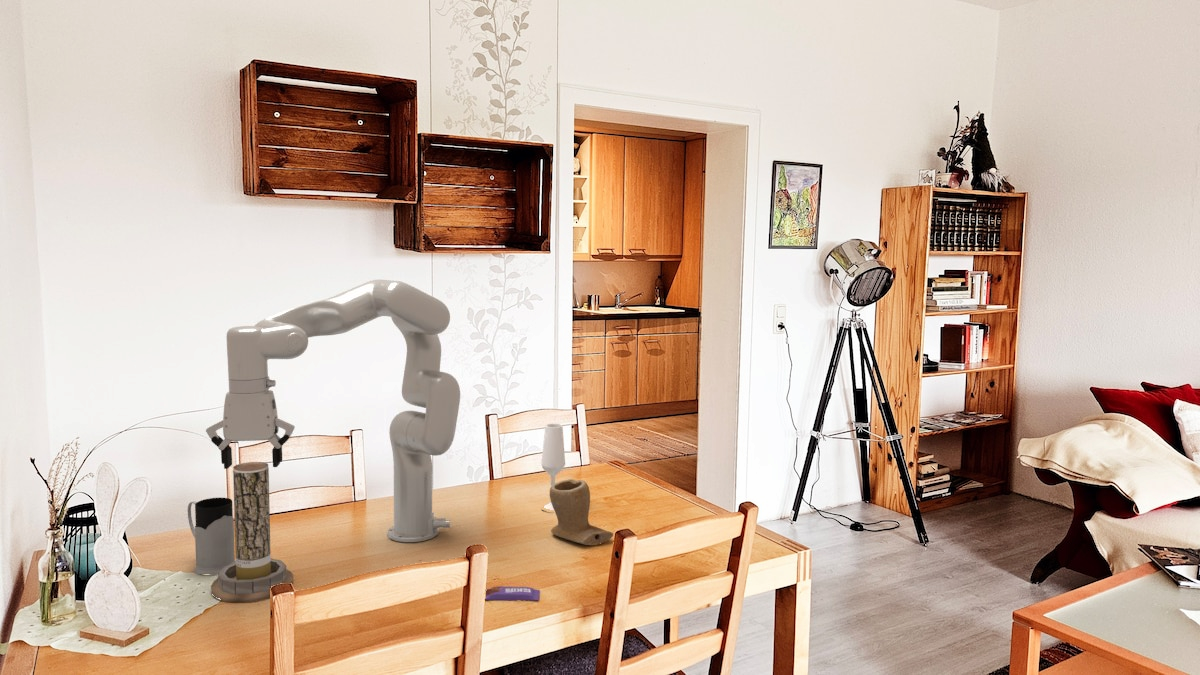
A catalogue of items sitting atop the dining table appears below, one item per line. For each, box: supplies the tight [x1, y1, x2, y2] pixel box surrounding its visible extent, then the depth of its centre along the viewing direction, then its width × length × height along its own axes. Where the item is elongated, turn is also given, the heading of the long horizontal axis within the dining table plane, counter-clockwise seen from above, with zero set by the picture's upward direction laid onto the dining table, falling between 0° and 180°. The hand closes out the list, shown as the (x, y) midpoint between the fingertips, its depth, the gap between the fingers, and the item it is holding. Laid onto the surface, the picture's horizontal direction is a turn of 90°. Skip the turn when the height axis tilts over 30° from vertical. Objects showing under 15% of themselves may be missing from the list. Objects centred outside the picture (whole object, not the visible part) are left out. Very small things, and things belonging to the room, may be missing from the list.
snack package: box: [485, 585, 541, 602], centre depth 170 cm, size 12×2×5 cm
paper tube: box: [232, 461, 272, 580], centre depth 170 cm, size 7×7×25 cm
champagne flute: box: [540, 423, 566, 510], centre depth 225 cm, size 7×7×24 cm
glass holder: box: [187, 497, 236, 575], centre depth 181 cm, size 9×14×15 cm, turn 58°
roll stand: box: [210, 557, 294, 604], centre depth 171 cm, size 16×16×4 cm
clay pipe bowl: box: [549, 478, 614, 546], centre depth 203 cm, size 15×12×15 cm
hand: (252, 466), depth 169 cm, fingers open, 9 cm apart
